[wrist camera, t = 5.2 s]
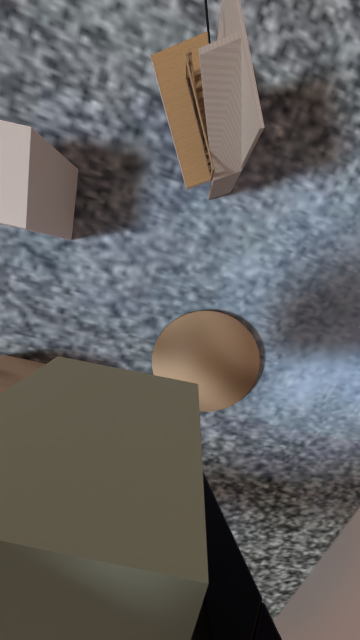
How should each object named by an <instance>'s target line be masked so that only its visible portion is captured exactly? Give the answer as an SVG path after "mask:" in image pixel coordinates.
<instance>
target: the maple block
mask: <svg viewBox="0 0 360 640" xmlns="http://www.w3.org/2000/svg"><path fill="white" fill-rule="evenodd" d="M44 365H45V364H44V363H40V362H35V361H31V360H26V359H21V358H17V357H12V356H8V355H3V356H1V357H0V394H1V393H3V392H4V391H6V390H7V389H9V388H10V387H12V386H13V385H15V384H16V383H18V382H19V381H21V380H22V379H24V378H26V377H27V376H29V375H30V374H32V373H33V372H35V371H36V370H38V369H39V368H41V367H42V366H44Z"/></svg>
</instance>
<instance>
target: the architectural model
mask: <svg viewBox="0 0 360 640" xmlns="http://www.w3.org/2000/svg"><path fill="white" fill-rule="evenodd" d="M205 11H206V22H207V32H208V35H207V32H205V33H202V34H200V35H198V36H195V37H193V38H191V39H188V40H186V41H184V42H181V43H179V44H177V45H174V46H172V47H170V48H167V49H165V50H163V51H160V52H158V53H156V54H153V55H151V60H152V64H153V68H154V71H155V75H156V79H157V82H158V86H159V90H160V94H161V97H162V101H163V105H164V108H165V112H166V116H167V119H168V123H169V127H170V130H171V134H172V138H173V141H174V145H175V149H176V153H177V156H178V160H179V164H180V167H181V171H182V175H183V178H184V182H185V186H186V189H187V190H189V189H192V188H194V187H197V186H200V185H203V184H206V183H209V182H211V185H210V189H209V193H208V200H210V199H213V198H216V197H219V196H222V195H225V194H228V193H230V192H231V191H232V189H233V187H234V185H235V183H236V181H237V179H238V177H239V175H240V174H241V172H242V170H243V168H244V166H245V164H246V162H247V160H248V158H249V156H250V154H251V152H252V150H253V149H254V147H255V145H256V143H257V141H258V139H259V137H260V135H261V133H262V131H263V129H264V122H263V117H262V112H261V106H260V101H259V96H258V91H257V86H256V81H255V76H254V70H253V65H252V60H251V55H250V50H249V45H248V39H247V34H246V29H245V24H244V19H243V14H242V9H241V3H240V0H222V5H221V13H220V22H219V30H218V39H217V41H215V42H212V43H210V32H209V21H208V9H207V0H205ZM189 87H190V88H189ZM190 89H191V92H190ZM191 95H192V96H191ZM210 170H211V172H210Z"/></svg>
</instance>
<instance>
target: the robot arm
mask: <svg viewBox="0 0 360 640" xmlns="http://www.w3.org/2000/svg"><path fill="white" fill-rule="evenodd" d="M203 485H204V504H205V523H206V542H207V561H208V580H209V584H208V587H207V590H206V593H205V597H204V600H203V603H202V606H201V609H200V612H199V615H198V619H197V622H196V625H195V628H194V631H193V634H192V637H191V640H282V639H281V637H280V635H279V633H278V631H277V629H276V627H275V624H274V622H273V620H272V618H271V616H270V614H269V611H268V609H267V607H266V605H265V603H262V597H261V595H260V592H259V590H258V588H257V586H256V584H255V582H254V580H253V577H252V575H251V573H250V571H249V569H248V567H247V565H246V562H245V560H244V558H243V556H242V554H241V552H240V550H239V547H238V545H237V543H236V541H235V539H234V537H233V535H232V532H231V530H230V528H229V526H228V524H227V522H226V520H225V518H224V515H223V513H222V511H221V509H220V507H219V505H218V503H217V500H216V498H215V496H214V494H213V492H212V490H211V488H210V485H209V483H208V481H207V479H206V477H205V475H204V473H203Z"/></svg>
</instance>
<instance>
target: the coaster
mask: <svg viewBox="0 0 360 640" xmlns="http://www.w3.org/2000/svg"><path fill="white" fill-rule="evenodd" d="M259 368H260V355H259V349H258V346H257V343H256V341H255V339H254V337H253V336H252V334H251V333H250V332H249V330H248V329H247V328H246V327H245V326H244V325H243V324H242V323H241V322H239V321H238V320H237V319H235V318H233V317H232V316H229V315H227V314H225V313H221V312H218V311H212V310H201V311H194V312H190V313H187V314H184V315H182V316H180V317H178V318H176V319H175V320H174V321H172V322H171V323H170V324H169V325H168V326H167V327H166V328H165V329H164V330H163V331H162V332H161V334H160V336H159V337H158V339H157V342H156V344H155V346H154V350H153V355H152V369H153V374H154V375H156V376H161V377H166V378H171V379H176V380H181V381H186V382H191V383H196V384H198V390H199V409H200V411H204V412H208V411H217V410H221V409H224V408H227V407H229V406H232V405H233V404H235V403H237V402H238V401H240V400H241V399H242V398H243V397H244V396H245V395H246V394H247V393H248V392H249V391H250V390H251V388H252V387H253V385H254V383H255V381H256V379H257V376H258V373H259Z"/></svg>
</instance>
